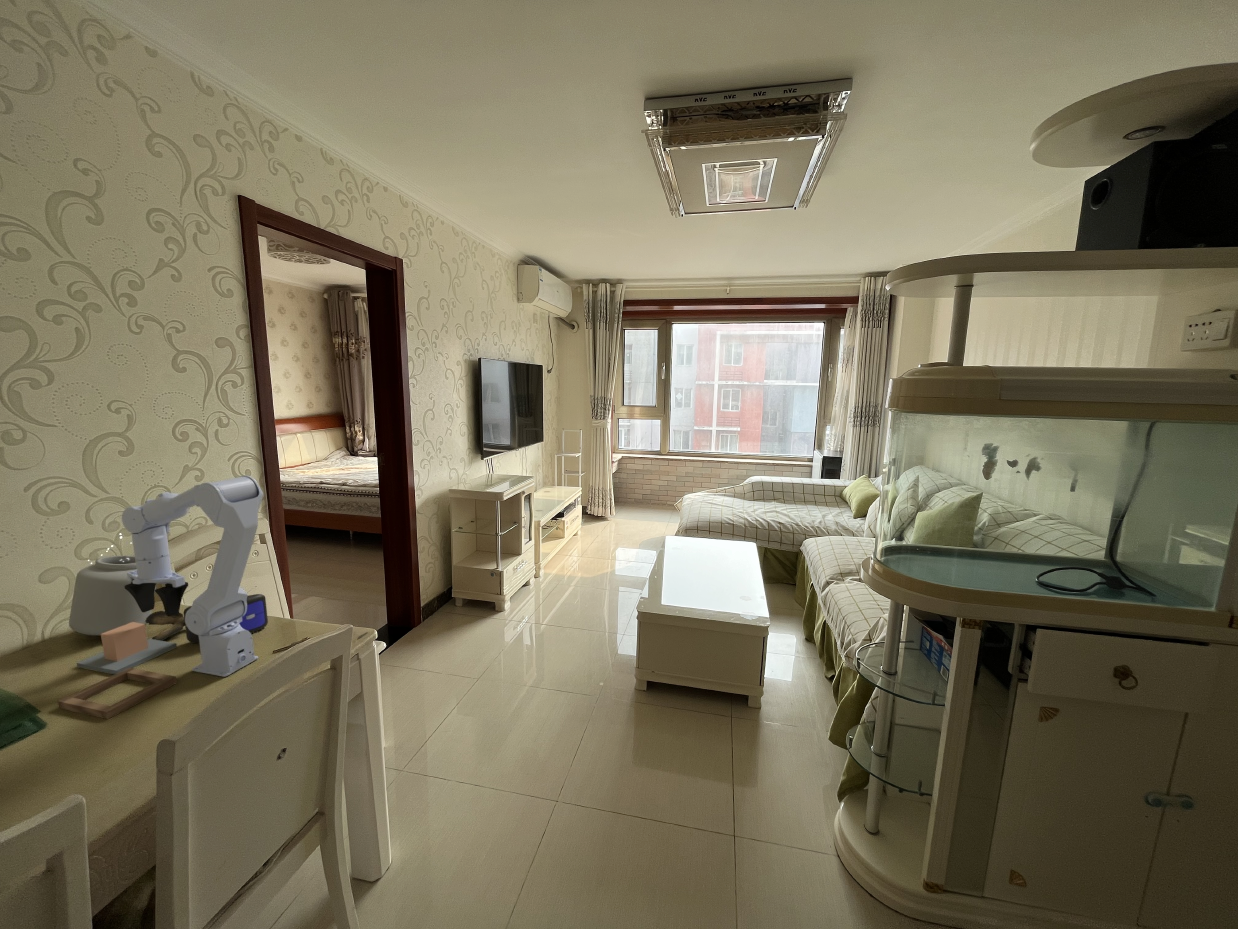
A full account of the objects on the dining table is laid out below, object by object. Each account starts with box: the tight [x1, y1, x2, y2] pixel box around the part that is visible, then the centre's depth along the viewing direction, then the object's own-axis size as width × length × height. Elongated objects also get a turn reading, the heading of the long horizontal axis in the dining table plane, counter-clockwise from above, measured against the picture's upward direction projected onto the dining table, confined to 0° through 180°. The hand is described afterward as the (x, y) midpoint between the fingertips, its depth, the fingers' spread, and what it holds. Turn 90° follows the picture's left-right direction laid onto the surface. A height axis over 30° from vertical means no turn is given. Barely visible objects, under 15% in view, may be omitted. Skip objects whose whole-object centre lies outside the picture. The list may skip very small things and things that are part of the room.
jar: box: [68, 533, 157, 636], centre depth 127 cm, size 19×15×25 cm
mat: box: [76, 637, 178, 675], centre depth 115 cm, size 12×12×1 cm
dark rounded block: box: [183, 593, 269, 644], centre depth 124 cm, size 16×5×9 cm, turn 123°
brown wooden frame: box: [57, 667, 178, 720], centre depth 101 cm, size 13×12×2 cm
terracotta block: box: [100, 622, 148, 661], centre depth 115 cm, size 4×6×6 cm, turn 165°
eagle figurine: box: [145, 610, 185, 641], centre depth 126 cm, size 8×7×9 cm
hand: (160, 612), depth 115 cm, fingers open, 7 cm apart
